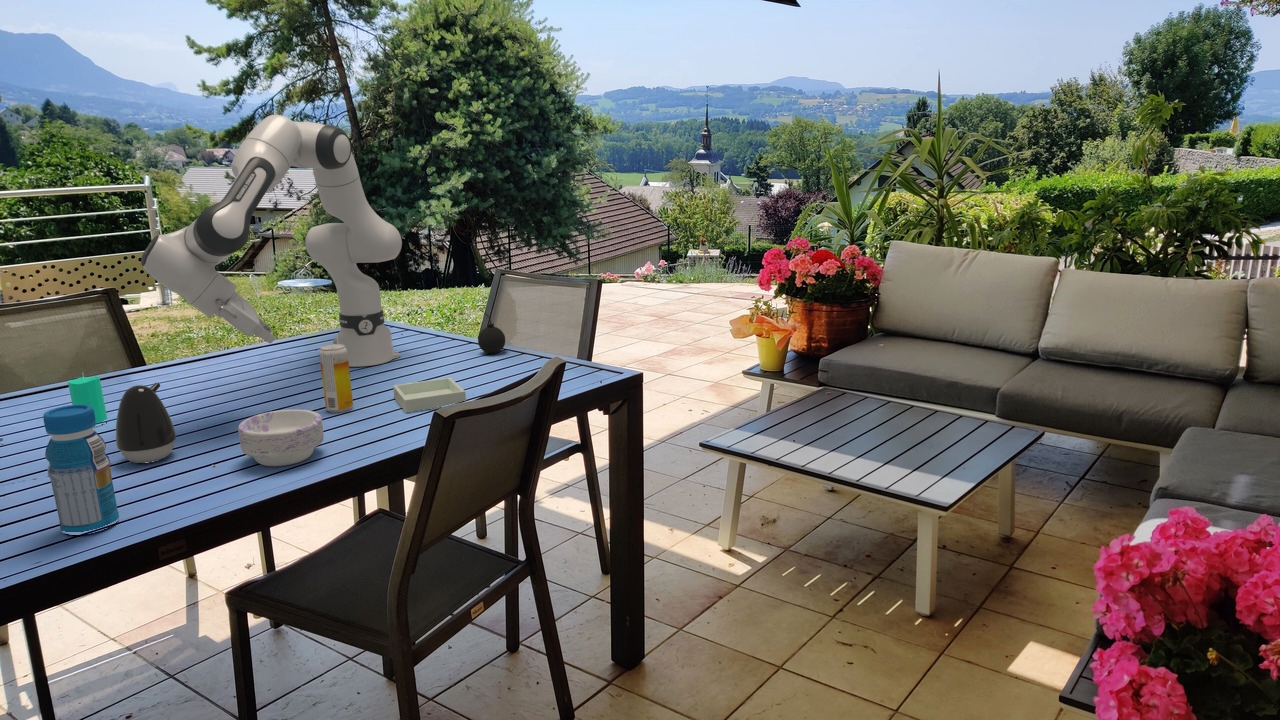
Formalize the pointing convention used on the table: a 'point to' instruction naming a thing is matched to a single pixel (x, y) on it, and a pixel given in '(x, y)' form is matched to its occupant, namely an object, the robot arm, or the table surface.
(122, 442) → the pump dispenser
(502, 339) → the bomb
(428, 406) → the tray
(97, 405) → the candle
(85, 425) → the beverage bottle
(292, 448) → the paper bowls
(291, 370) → the table surface
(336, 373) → the beer can
